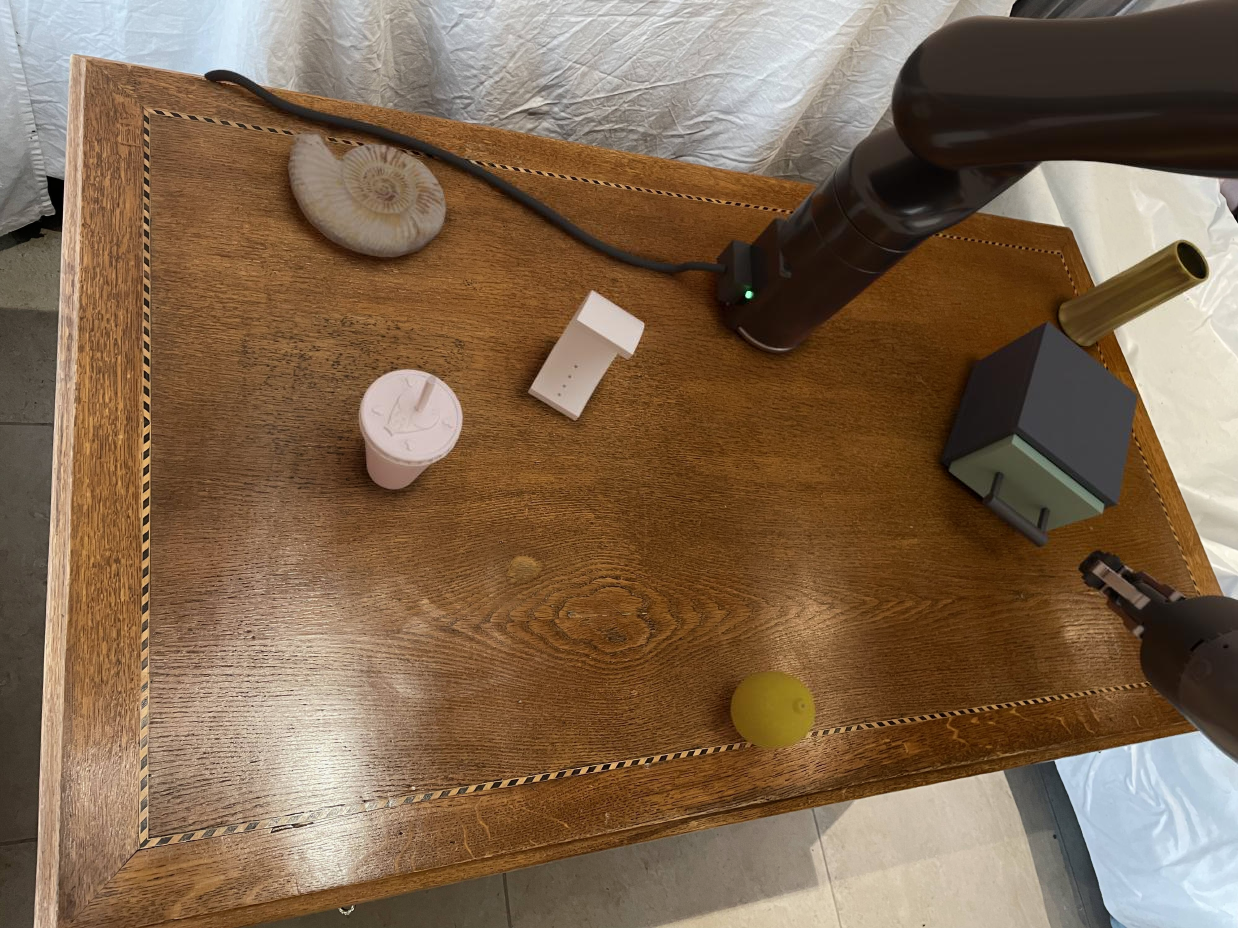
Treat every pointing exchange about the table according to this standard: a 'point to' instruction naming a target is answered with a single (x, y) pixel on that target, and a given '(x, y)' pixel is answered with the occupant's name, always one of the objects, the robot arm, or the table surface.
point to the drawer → (1025, 488)
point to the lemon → (772, 709)
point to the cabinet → (1049, 409)
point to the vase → (1133, 292)
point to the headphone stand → (585, 354)
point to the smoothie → (407, 425)
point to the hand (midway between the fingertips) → (1093, 563)
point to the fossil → (366, 196)
